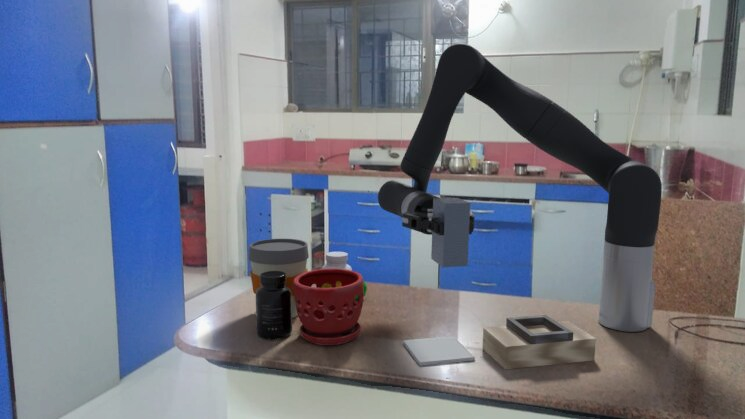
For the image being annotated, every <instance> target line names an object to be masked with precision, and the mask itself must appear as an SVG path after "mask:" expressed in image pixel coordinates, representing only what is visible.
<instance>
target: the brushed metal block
mask: <svg viewBox="0 0 745 419" xmlns="http://www.w3.org/2000/svg"><path fill="white" fill-rule="evenodd" d="M470 211H471V202H469V201H467V200H465V199H464V200H463V199H461V198H459V197H439V198H433V217H435V219H438V220H439V221H441V222H443V223H444V234H443V235H438V234H436V233H434V232H432V235H431V250H430V251H431V252H430V253H431V254H430V255H431V256H430V259H431V260H432V261H434V262H435V263H436V264H438V265H439V266H440V267H442V268H457V267H468V266H469V265H468V261H469V258H468V257H469V242H470V241H469V240H470V239H469V238H470V234H469V222H470Z"/></svg>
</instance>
